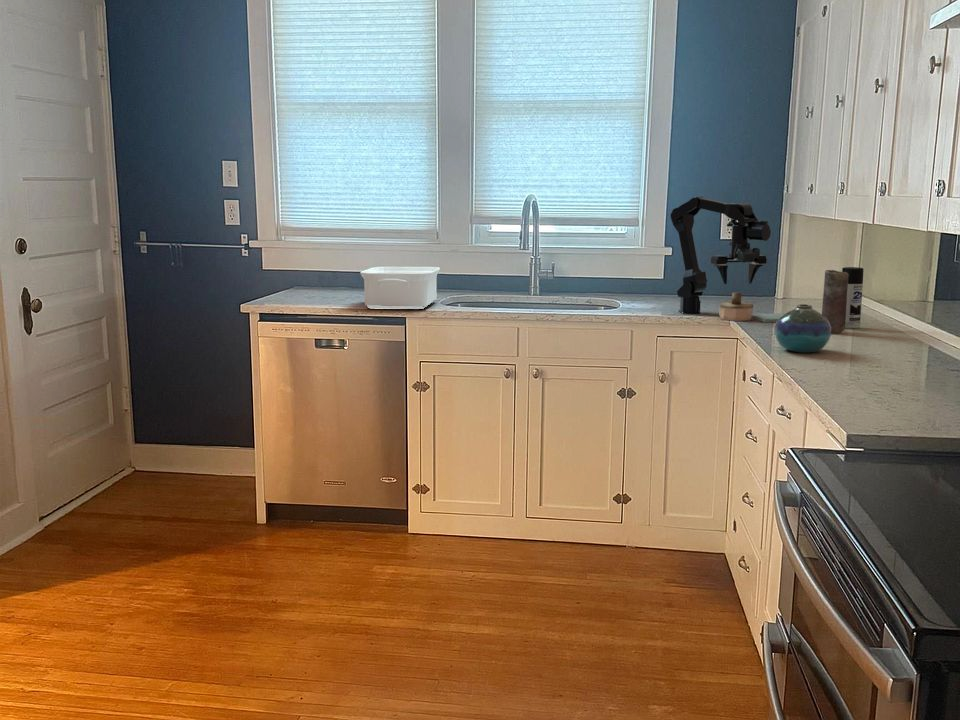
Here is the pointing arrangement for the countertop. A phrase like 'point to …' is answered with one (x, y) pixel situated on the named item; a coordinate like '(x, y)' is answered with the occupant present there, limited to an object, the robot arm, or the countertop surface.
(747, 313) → the bowl
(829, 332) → the vase
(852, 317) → the spray can
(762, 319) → the mat
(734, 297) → the lid
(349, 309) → the countertop surface
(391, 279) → the white storage tub
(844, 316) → the candle
